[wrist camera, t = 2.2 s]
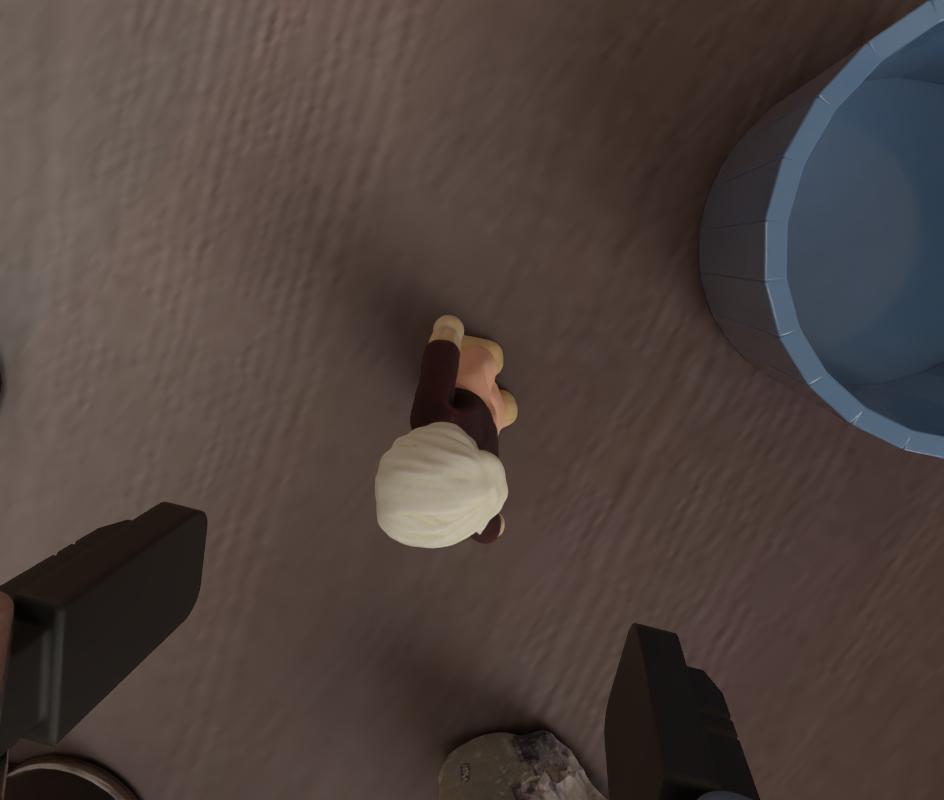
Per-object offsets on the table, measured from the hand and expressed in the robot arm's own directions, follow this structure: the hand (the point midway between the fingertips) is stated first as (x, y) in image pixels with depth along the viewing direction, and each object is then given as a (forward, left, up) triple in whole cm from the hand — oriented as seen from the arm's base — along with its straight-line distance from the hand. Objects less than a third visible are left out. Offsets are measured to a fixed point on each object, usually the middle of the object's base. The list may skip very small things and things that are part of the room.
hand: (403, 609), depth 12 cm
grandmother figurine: (-1, 0, -17) cm, 17 cm away
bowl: (+12, +9, -16) cm, 23 cm away
